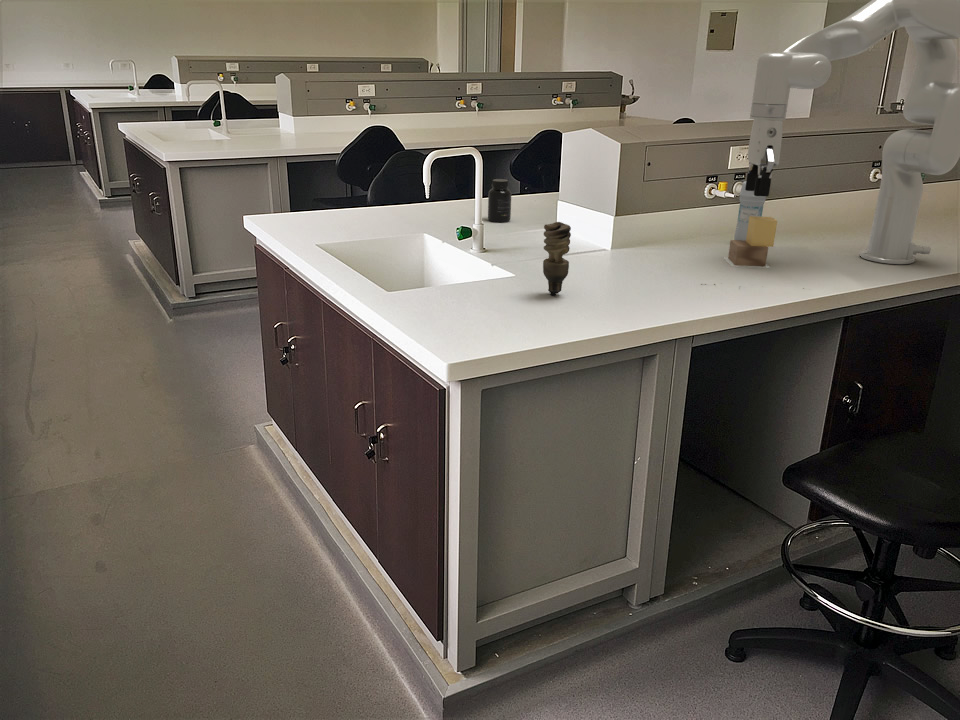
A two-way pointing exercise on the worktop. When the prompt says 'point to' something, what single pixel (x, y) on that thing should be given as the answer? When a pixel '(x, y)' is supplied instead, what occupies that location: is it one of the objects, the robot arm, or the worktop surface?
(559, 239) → the light bulb
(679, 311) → the worktop surface
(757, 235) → the ochre block
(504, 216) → the supplement bottle
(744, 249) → the walnut block
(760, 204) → the bottle
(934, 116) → the robot arm
